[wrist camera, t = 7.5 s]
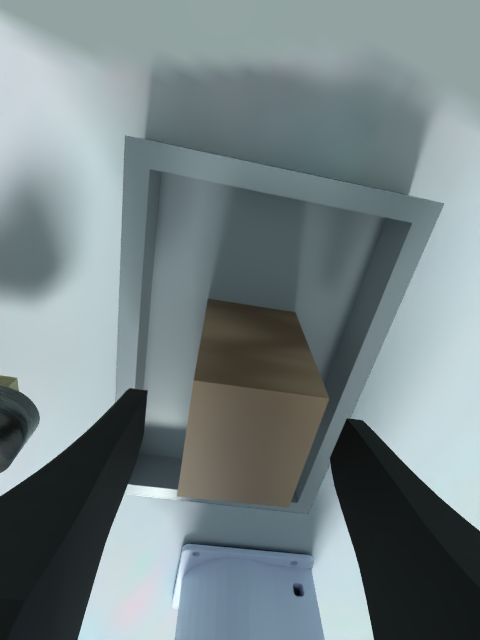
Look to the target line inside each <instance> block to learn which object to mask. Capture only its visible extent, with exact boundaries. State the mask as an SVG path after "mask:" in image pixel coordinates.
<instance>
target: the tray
mask: <svg viewBox="0 0 480 640" xmlns="http://www.w3.org/2000/svg"><path fill="white" fill-rule="evenodd" d="M443 205H444V203H439V202H435V201H431V200H426V199H422V198H418V197H413V196H409V195H404V194H400V193H395V192H390V191H386V190H381V189H376V188H372V187H367V186H362V185H358V184H353V183H348V182H344V181H339V180H334V179H330V178H325V177H320V176H315V175H311V174H306V173H301V172H297V171H292V170H287V169H283V168H278V167H273V166H269V165H264V164H259V163H255V162H250V161H245V160H241V159H236V158H231V157H227V156H222V155H217V154H212V153H208V152H203V151H198V150H194V149H189V148H184V147H180V146H175V145H170V144H166V143H161V142H156V141H152V140H147V139H142V138H136V137H130V136H125V151H124V178H123V206H122V233H121V261H120V288H119V315H118V343H117V370H116V398H115V403H116V402H117V400H118V399H119V398H120V397H121V396H122V395H123V394H124V392H125V391H126V390H128V389H129V388H133V389H141V390H148V394H147V405H146V416H145V427H144V436H143V440H142V443H141V447H140V451H139V454H138V458H137V462H136V465H135V467H134V470H133V472H132V475H131V478H130V480H129V483H128V485H127V488H126V490H125V493H124V494H126V495H135V496H145V497H154V498H163V499H173V500H182V501H191V502H200V503H210V504H219V505H228V506H238V507H247V508H256V509H266V510H275V511H284V512H294V513H303V514H308V513H309V511H310V508H311V506H312V504H313V501H314V499H315V497H316V495H317V492H318V490H319V488H320V485H321V483H322V481H323V479H324V476H325V474H326V472H327V470H328V467H329V465H330V456H331V454H332V452H333V449H334V447H335V445H336V442H337V440H338V438H339V435H340V433H341V431H342V428H343V426H344V424H345V421H346V419H347V418H348V419H350V417H351V415H352V413H353V410H354V408H355V406H356V403H357V401H358V399H359V397H360V394H361V392H362V390H363V387H364V385H365V383H366V381H367V378H368V376H369V374H370V372H371V369H372V367H373V365H374V362H375V360H376V358H377V356H378V353H379V351H380V349H381V346H382V344H383V342H384V340H385V337H386V335H387V333H388V330H389V328H390V326H391V324H392V321H393V319H394V317H395V315H396V312H397V310H398V308H399V305H400V303H401V301H402V299H403V296H404V294H405V292H406V289H407V287H408V285H409V283H410V280H411V278H412V276H413V274H414V271H415V269H416V267H417V264H418V262H419V260H420V258H421V255H422V253H423V251H424V248H425V246H426V244H427V242H428V239H429V237H430V235H431V232H432V230H433V228H434V226H435V223H436V221H437V219H438V217H439V214H440V212H441V210H442V207H443ZM208 299H214V300H220V301H227V302H233V303H240V304H246V305H252V306H259V307H265V308H272V309H278V310H284V311H291V312H295V313H296V315H297V318H298V320H299V323H300V325H301V328H302V330H303V333H304V335H305V338H306V340H307V343H308V346H309V348H310V351H311V353H312V356H313V358H314V361H315V363H316V366H317V368H318V371H319V373H320V376H321V378H322V381H323V383H324V386H325V389H326V391H327V394H328V396H329V401H328V404H327V406H326V409H325V412H324V414H323V417H322V420H321V422H320V425H319V428H318V431H317V433H316V436H315V439H314V441H313V444H312V447H311V449H310V452H309V455H308V457H307V460H306V463H305V465H304V468H303V471H302V474H301V476H300V479H299V482H298V484H297V487H296V490H295V492H294V495H293V498H292V500H291V503H290V506H289V508H288V507H277V506H267V505H257V504H247V503H237V502H227V501H217V500H207V499H197V498H186V497H177V493H178V486H179V479H180V472H181V465H182V458H183V451H184V444H185V437H186V430H187V423H188V416H189V409H190V402H191V395H192V388H193V381H194V375H195V369H196V364H197V358H198V352H199V346H200V341H201V335H202V329H203V323H204V318H205V312H206V306H207V301H208Z"/></svg>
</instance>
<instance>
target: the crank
mask: <svg viewBox="0 0 480 640" xmlns="http://www.w3.org/2000/svg"><path fill="white" fill-rule="evenodd" d="M39 421H40V416H39V412H38V410H37V408H36V406H35V405H34V403H33V402H32V401H31V400H30V399H29V398H28V397H27V396H25V395H24V394H22V393H21V392H19V389H18V381H17V378H14V377H7V376H0V473H1V472H3V471H5V470H6V469H7V468H8V467H9V466H10V464H11V463H12V462H13V460H14V459H15V457H16V456H17V455H18V453H19V452H20V450H21V449H22V448H23V446H24V445H25V443H26V442H27V441H28V439H29V438H30V437H31V435H32V434H33V432H34V431H35V430H36V428H37V427H38V424H39Z"/></svg>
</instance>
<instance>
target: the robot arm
mask: <svg viewBox="0 0 480 640" xmlns="http://www.w3.org/2000/svg"><path fill="white" fill-rule="evenodd" d="M147 394H148V390H141V389H133V388H129V389H128V390H126V391H125V392H124V394H123V395H122V396H121V397H120V398H119V399H118V400H117V402H116V403H115V404H114V405H113V406H112V407H111V408H110V409H109V410H108V411H107V412H106V413H105V414H104V415H103V416H102V417H101V418H100V419H99V420H98V421H97V422H96V423H95V424H94V425H93V426H92V427H91V428H90V429H89V430H87V431H86V432H85V433H84V434H83V435H82V436H81V437H79V438H78V439H77V440H76V441H75V442H74V443H73V444H71V445H70V446H69V447H68V448H67V449H66V450H64V451H63V452H62V453H61V454H59V455H58V456H57V457H56V458H54V459H53V460H52V461H51V462H49V463H48V464H46V465H45V466H44V467H42V468H41V469H40V470H38V471H37V472H36V473H34V474H33V475H31V476H30V477H28V478H27V479H26V480H24V481H23V482H21V483H20V484H18V485H17V486H15V487H14V488H12V489H11V490H9V491H8V492H6V493H5V494H3V495H2V496H0V640H77V639H78V636H79V632H80V629H81V625H82V621H83V618H84V614H85V611H86V607H87V604H88V601H89V597H90V594H91V590H92V587H93V583H94V580H95V576H96V573H97V570H98V566H99V563H100V560H101V556H102V553H103V549H104V546H105V543H106V540H107V537H108V534H109V532H110V529H111V526H112V524H113V521H114V518H115V516H116V513H117V511H118V508H119V506H120V503H121V501H122V498H123V496H124V493H125V490H126V488H127V485H128V483H129V480H130V478H131V475H132V472H133V470H134V467H135V465H136V462H137V458H138V454H139V451H140V447H141V443H142V440H143V436H144V427H145V416H146V405H147ZM330 463H331V470H332V475H333V480H334V486H335V489H336V493H337V496H338V499H339V502H340V506H341V509H342V512H343V515H344V518H345V522H346V525H347V528H348V531H349V534H350V537H351V541H352V544H353V547H354V550H355V553H356V557H357V561H358V564H359V568H360V573H361V577H362V582H363V586H364V591H365V595H366V600H367V605H368V610H369V615H370V620H371V626H372V631H373V636H374V640H480V531H479V530H478V529H477V528H475V527H474V526H473V525H471V524H470V523H469V522H468V521H467V520H465V519H464V518H463V517H462V516H461V515H459V514H458V513H457V512H456V511H455V510H453V509H452V508H451V507H450V506H449V505H448V504H446V503H445V502H444V501H443V500H442V499H441V498H440V497H439V496H437V495H436V494H435V493H434V492H433V491H432V490H431V489H430V488H429V487H428V486H427V485H426V484H425V483H424V482H423V481H422V480H420V479H419V478H418V477H417V476H416V475H415V474H414V473H413V472H412V471H411V470H410V469H409V468H408V467H407V466H406V465H405V464H404V463H403V462H402V460H401V459H400V458H399V457H398V456H397V455H396V454H395V453H394V452H393V451H392V450H391V449H390V448H389V447H388V446H387V445H386V444H385V443H384V442H383V441H382V440H381V439H380V437H379V436H378V435H377V434H376V433H375V432H374V431H373V430H372V429H371V428H370V427H369V426H368V425H367V424H366V423H365V422H364V421H363V420H355V419H348V418H347V419H346V421H345V424H344V426H343V428H342V431H341V433H340V435H339V438H338V440H337V442H336V445H335V447H334V449H333V452H332V454H331V456H330ZM313 565H314V561H313V557H312V556H310V555H302V554H292V553H281V552H271V551H260V550H250V549H239V548H228V547H218V546H207V545H197V544H186V545H184V546H183V548H182V552H181V557H180V563H179V568H178V573H177V578H176V583H175V588H174V593H173V598H172V607H173V608H176V609H178V616H177V625H176V633H175V640H325V639H324V634H323V629H322V624H321V618H320V613H319V608H318V602H317V597H316V592H315V587H314V581H313V576H312V571H311V569H312V567H313Z"/></svg>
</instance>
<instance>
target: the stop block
mask: <svg viewBox="0 0 480 640" xmlns="http://www.w3.org/2000/svg"><path fill="white" fill-rule="evenodd" d="M328 401H329V396H328V394H327V391H326V389H325V386H324V383H323V381H322V378H321V376H320V373H319V371H318V368H317V366H316V363H315V361H314V358H313V356H312V353H311V351H310V348H309V346H308V343H307V340H306V338H305V335H304V333H303V330H302V328H301V325H300V323H299V320H298V318H297V315H296V313H295V312H291V311H284V310H278V309H272V308H265V307H259V306H252V305H246V304H240V303H233V302H227V301H220V300H214V299H208V301H207V306H206V312H205V318H204V323H203V329H202V335H201V341H200V346H199V352H198V358H197V364H196V369H195V375H194V381H193V388H192V395H191V402H190V409H189V416H188V423H187V430H186V437H185V444H184V451H183V458H182V465H181V472H180V479H179V486H178V493H177V497H186V498H197V499H207V500H217V501H227V502H237V503H247V504H257V505H267V506H277V507H288V508H289V506H290V503H291V500H292V498H293V495H294V492H295V490H296V487H297V484H298V482H299V479H300V476H301V474H302V471H303V468H304V465H305V463H306V460H307V457H308V455H309V452H310V449H311V447H312V444H313V441H314V439H315V436H316V433H317V431H318V428H319V425H320V422H321V420H322V417H323V414H324V412H325V409H326V406H327V404H328Z"/></svg>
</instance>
